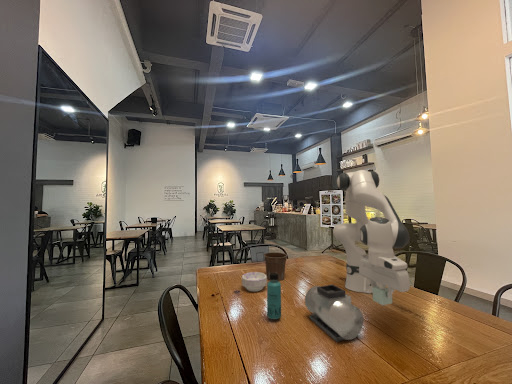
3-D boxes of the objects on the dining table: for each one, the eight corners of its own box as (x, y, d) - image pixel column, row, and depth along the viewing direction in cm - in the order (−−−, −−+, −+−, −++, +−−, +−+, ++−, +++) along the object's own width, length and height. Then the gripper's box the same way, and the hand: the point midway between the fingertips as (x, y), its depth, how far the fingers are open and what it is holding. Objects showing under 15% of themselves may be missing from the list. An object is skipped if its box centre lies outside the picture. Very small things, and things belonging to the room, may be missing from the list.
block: (382, 298, 90) (381, 278, 90) (392, 303, 85) (391, 282, 86) (372, 300, 88) (372, 280, 88) (382, 305, 84) (381, 284, 84)
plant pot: (291, 276, 156) (290, 253, 157) (281, 283, 142) (280, 258, 143) (271, 273, 165) (270, 251, 165) (259, 279, 151) (259, 255, 152)
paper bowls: (253, 296, 124) (252, 281, 124) (237, 288, 135) (236, 275, 136) (272, 289, 134) (271, 275, 134) (255, 282, 145) (255, 270, 146)
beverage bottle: (266, 315, 102) (265, 271, 103) (280, 315, 102) (279, 271, 103) (268, 323, 95) (267, 276, 96) (283, 322, 96) (282, 275, 97)
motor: (322, 308, 108) (321, 276, 109) (364, 338, 84) (362, 296, 84) (300, 312, 104) (300, 279, 105) (337, 345, 80) (336, 301, 81)
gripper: (354, 253, 96) (355, 286, 96) (398, 267, 77) (400, 307, 76) (366, 252, 98) (367, 284, 98) (411, 265, 79) (413, 304, 78)
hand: (382, 294), depth 87 cm, fingers closed on block, 4 cm apart
